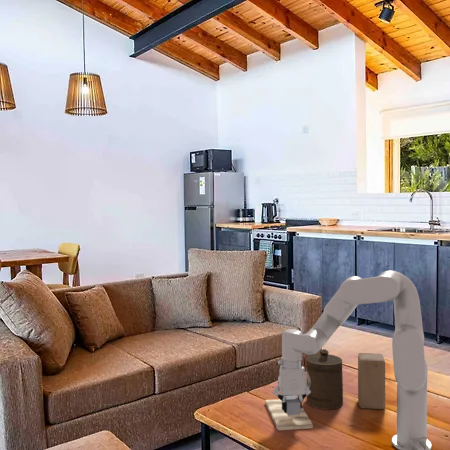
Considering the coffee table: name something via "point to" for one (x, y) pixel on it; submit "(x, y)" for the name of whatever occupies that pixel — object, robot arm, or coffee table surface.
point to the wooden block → (371, 380)
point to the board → (283, 420)
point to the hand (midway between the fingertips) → (291, 410)
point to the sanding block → (293, 406)
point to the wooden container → (324, 380)
